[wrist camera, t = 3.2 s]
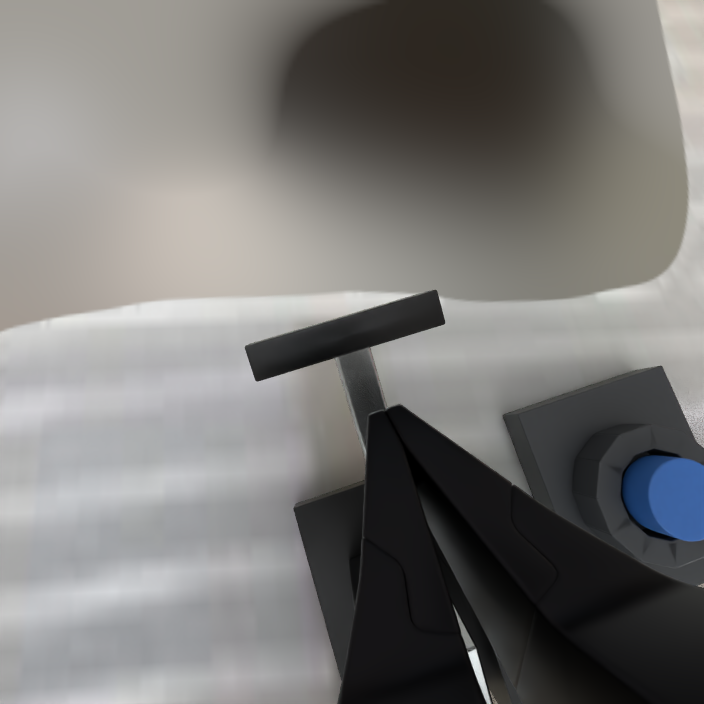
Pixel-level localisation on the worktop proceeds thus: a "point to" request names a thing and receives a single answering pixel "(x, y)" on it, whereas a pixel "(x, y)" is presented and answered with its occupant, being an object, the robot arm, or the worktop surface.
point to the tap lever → (358, 372)
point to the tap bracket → (343, 577)
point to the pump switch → (608, 461)
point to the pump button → (666, 495)
